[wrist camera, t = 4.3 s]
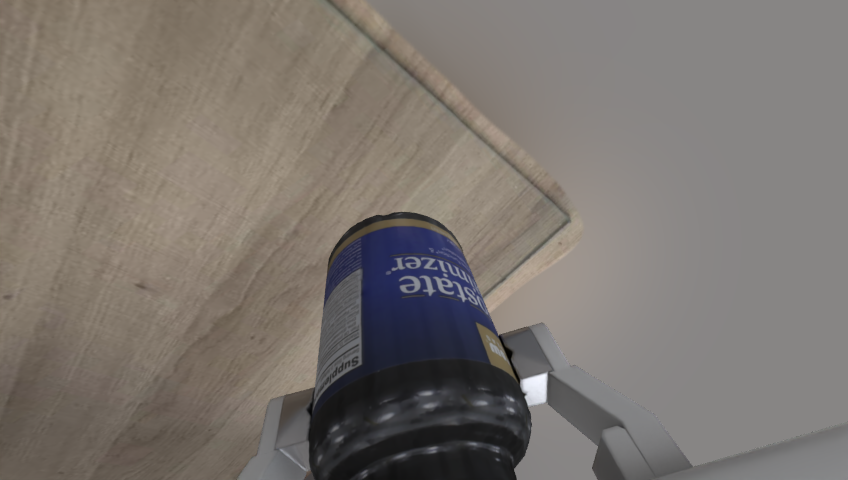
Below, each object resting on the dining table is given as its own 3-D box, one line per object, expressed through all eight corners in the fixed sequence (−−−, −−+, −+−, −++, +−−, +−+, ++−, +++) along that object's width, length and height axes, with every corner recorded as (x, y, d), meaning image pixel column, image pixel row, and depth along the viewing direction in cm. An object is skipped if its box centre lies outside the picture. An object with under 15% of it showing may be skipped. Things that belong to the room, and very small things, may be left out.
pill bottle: (485, 240, 16) (659, 554, 7) (415, 322, 18) (475, 630, 9) (367, 181, 13) (400, 582, 4) (304, 288, 15) (238, 679, 6)
